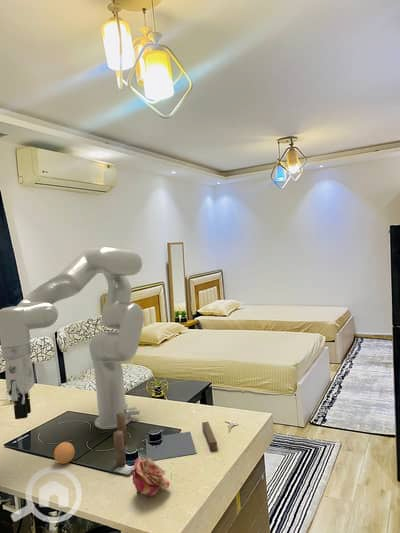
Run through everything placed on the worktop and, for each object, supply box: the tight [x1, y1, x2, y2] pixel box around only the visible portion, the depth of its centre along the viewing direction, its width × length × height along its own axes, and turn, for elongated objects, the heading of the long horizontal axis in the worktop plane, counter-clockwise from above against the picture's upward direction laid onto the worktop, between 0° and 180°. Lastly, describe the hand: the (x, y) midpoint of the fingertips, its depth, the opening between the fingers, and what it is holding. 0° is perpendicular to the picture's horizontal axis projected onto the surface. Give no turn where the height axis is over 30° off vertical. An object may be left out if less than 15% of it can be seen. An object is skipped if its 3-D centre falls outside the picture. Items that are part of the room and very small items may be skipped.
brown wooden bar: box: [201, 421, 218, 452], centre depth 119 cm, size 2×14×2 cm, turn 9°
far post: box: [116, 413, 128, 446], centre depth 121 cm, size 3×3×9 cm
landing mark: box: [145, 431, 197, 462], centre depth 117 cm, size 14×14×1 cm
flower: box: [130, 457, 171, 501], centre depth 94 cm, size 10×9×8 cm
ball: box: [53, 441, 76, 465], centre depth 112 cm, size 6×6×6 cm
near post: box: [113, 430, 127, 468], centre depth 108 cm, size 3×3×9 cm
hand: (23, 415), depth 110 cm, fingers open, 2 cm apart
